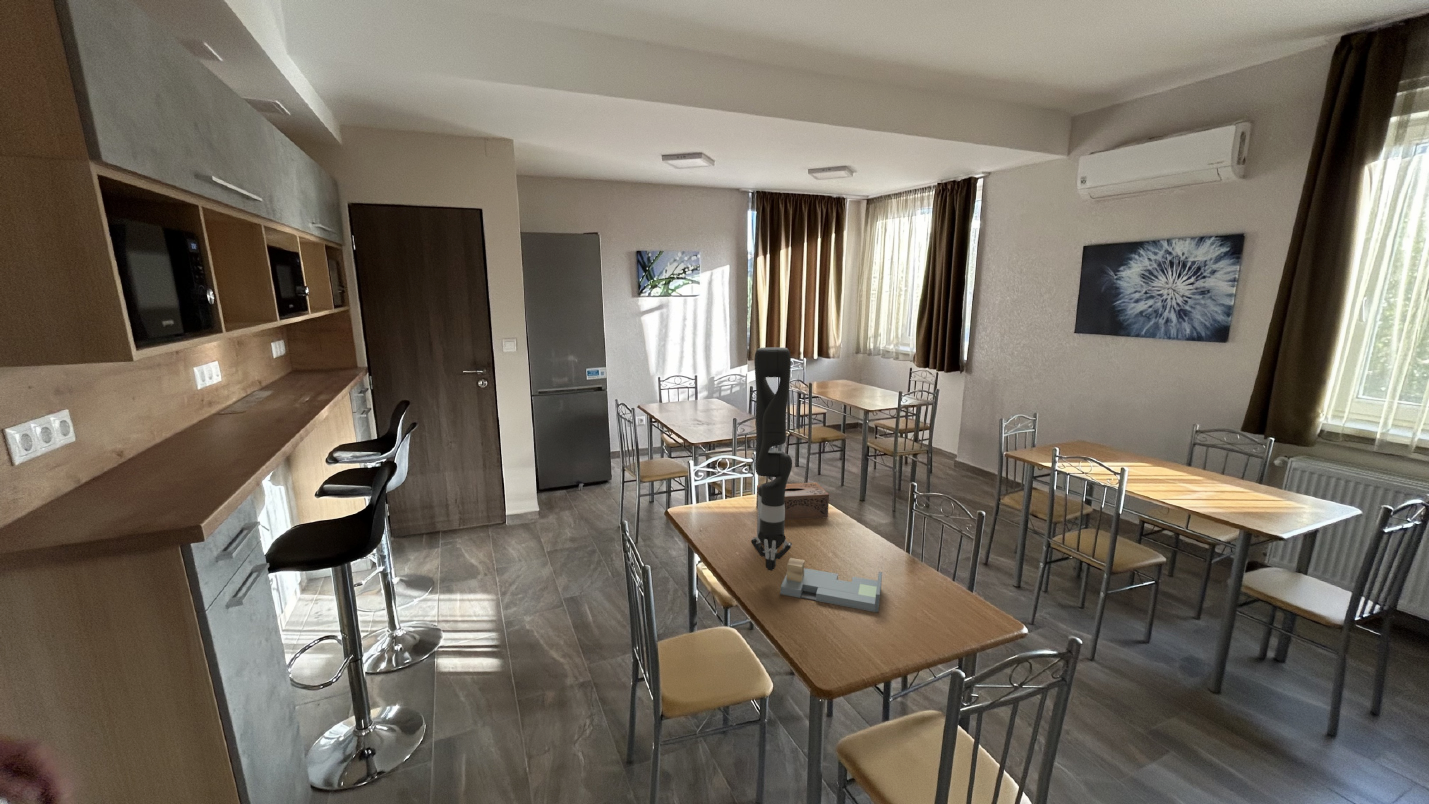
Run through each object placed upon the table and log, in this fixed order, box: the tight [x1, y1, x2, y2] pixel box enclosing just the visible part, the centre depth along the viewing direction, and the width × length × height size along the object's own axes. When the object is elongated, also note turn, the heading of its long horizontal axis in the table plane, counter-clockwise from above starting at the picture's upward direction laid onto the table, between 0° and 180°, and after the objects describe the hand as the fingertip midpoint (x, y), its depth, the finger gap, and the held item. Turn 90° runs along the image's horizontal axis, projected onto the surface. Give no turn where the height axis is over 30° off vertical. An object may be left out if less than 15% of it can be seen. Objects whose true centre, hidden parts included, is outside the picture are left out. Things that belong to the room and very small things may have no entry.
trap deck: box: [779, 567, 883, 613], centre depth 169 cm, size 14×28×5 cm, turn 71°
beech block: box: [786, 557, 806, 582], centre depth 172 cm, size 4×4×5 cm
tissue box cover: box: [755, 482, 830, 521], centre depth 229 cm, size 26×14×10 cm, turn 100°
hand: (770, 569), depth 175 cm, fingers closed
